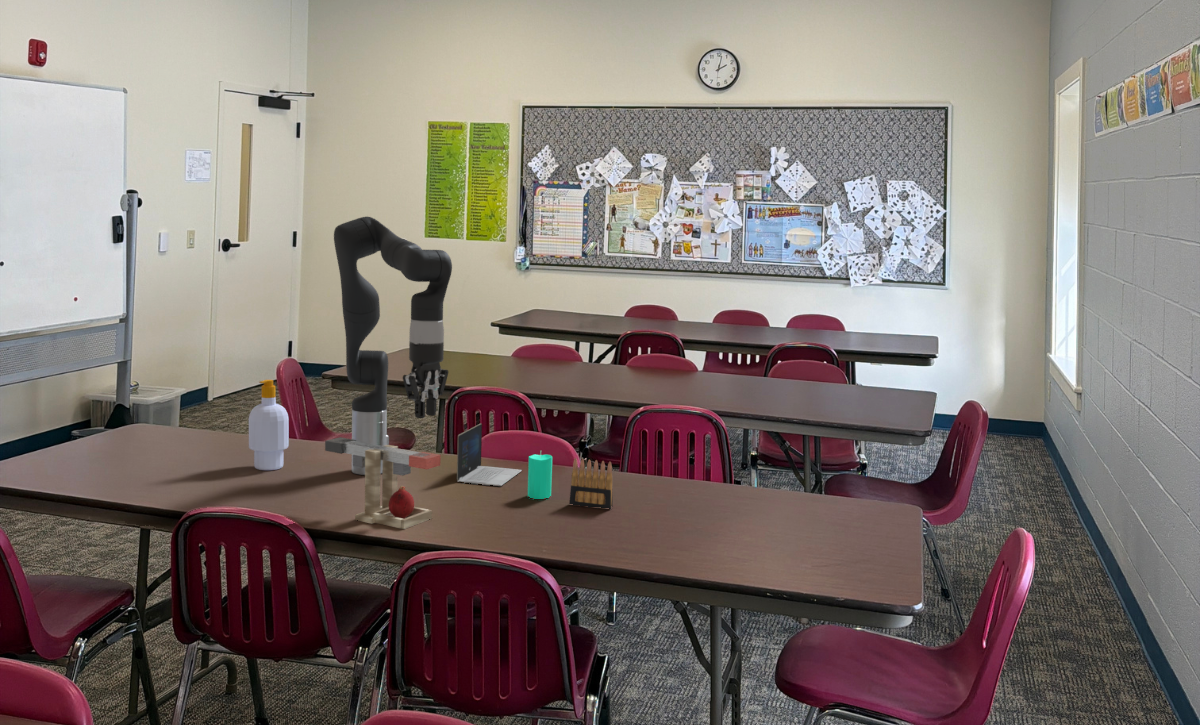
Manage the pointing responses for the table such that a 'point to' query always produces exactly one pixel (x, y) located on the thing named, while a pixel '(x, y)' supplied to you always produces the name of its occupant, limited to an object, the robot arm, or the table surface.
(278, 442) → the soap bottle
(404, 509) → the onion
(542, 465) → the candle
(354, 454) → the lever
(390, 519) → the press stand
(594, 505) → the ammunition clip
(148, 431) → the table surface
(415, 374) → the robot arm
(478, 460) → the laptop
